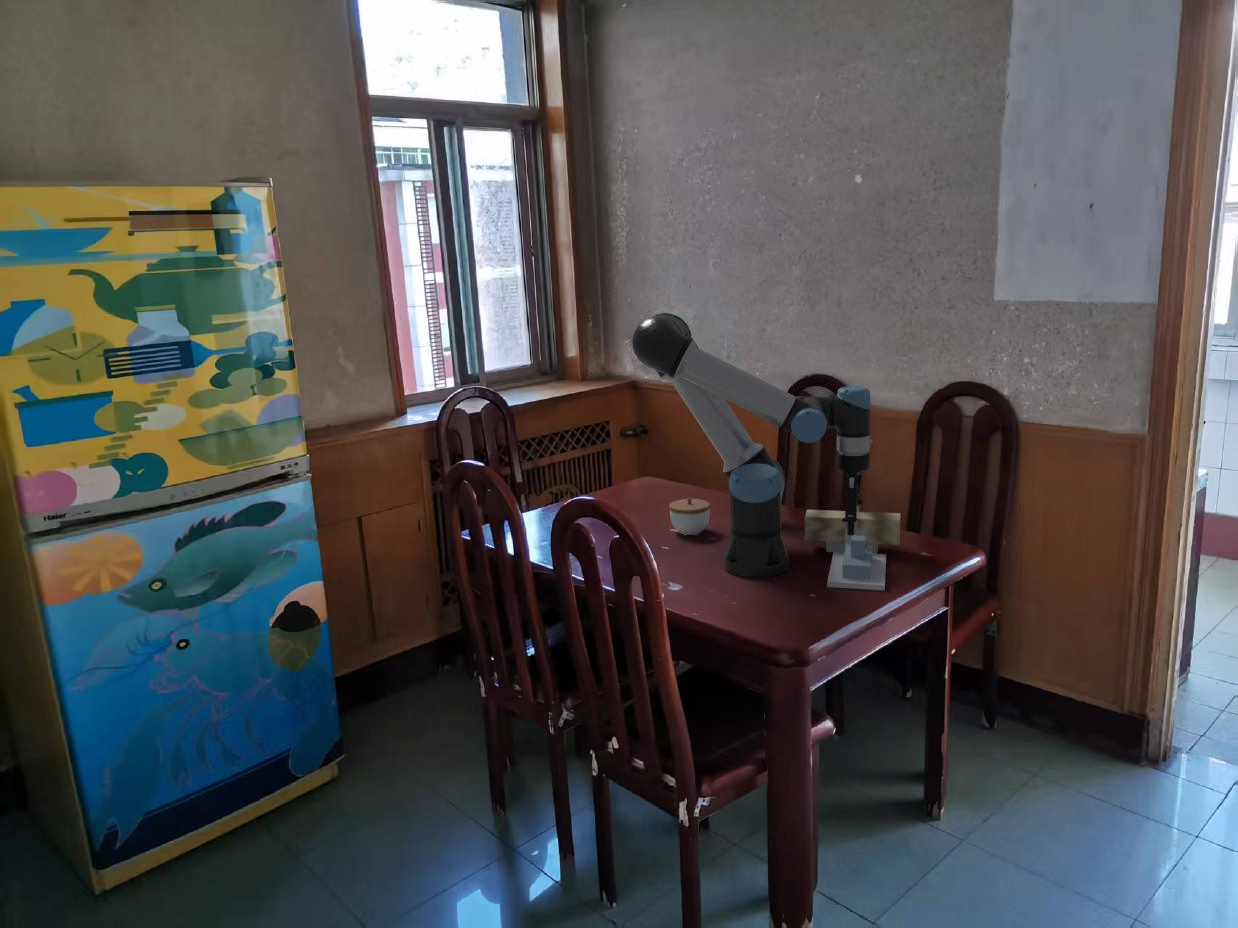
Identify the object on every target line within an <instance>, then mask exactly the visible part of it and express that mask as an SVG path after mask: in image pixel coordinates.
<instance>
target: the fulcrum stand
mask: <svg viewBox="0 0 1238 928" xmlns="http://www.w3.org/2000/svg"><path fill="white" fill-rule="evenodd" d="M832 553H833V554H832V558H831V562H830V566H829V567H830V568H829V572H828V577H827V581H826V582H827V584H826V588H837V589H838V588H839V589H840V588H841V589H852V590H853V589H856V590H870V591H871V590H872V591H884V592H885V587H886V566H887V565H886V564H887V554H885V553H877V554H873V546H869V545H865V536H856V535H852V537H851V545H849V544H846V548H845V552H832Z"/></svg>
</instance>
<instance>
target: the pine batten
mask: <svg viewBox="0 0 1238 928" xmlns="http://www.w3.org/2000/svg"><path fill="white" fill-rule="evenodd" d="M848 516H850V515H848ZM842 518H845V510H829V509H828V510H824V509H806V512H805V515H804V541H812V542H826V541H829V542H845V522H842ZM856 518H857V536H865V543H869V544H878V545H892V546H893V545H895V546H897V545H898V546H900V545H901V544H900V543H901V542H900V541H901V513H900V512H882V511H881V512H875V511H859V512H857V517H856Z"/></svg>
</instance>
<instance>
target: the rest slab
mask: <svg viewBox="0 0 1238 928" xmlns="http://www.w3.org/2000/svg"><path fill="white" fill-rule="evenodd" d="M865 545H869V546H873V554H879V553H878V550H879V544H869V543H865ZM825 552H827V553H833V552H845V542H829V541H825Z"/></svg>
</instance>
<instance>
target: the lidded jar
mask: <svg viewBox="0 0 1238 928" xmlns="http://www.w3.org/2000/svg"><path fill="white" fill-rule="evenodd" d="M668 507H669V514H670V515H669V516H670V521H671V524H672V526H673V528H674V529H675V530H676V531H677V532H678V533H679V532H680V533H681V534H684V535H683V536H686V535H694V536H698V535H700V534H699V533H701V532H702V533H703V531H704V530H705V529H706V528H707V527H708V526H707V525H708V524H709V520H710V515H711V514H710V513H711V512H710V511H711V510H710V508H711V503H710V502H709V501H707V500H705V499H699V498H691V497H687V498H684V499H677V500H674V501H671V502H670V503H669V505H668ZM680 533H679V534H680ZM702 533H701V534H702ZM681 534H680V535H681ZM697 534H698V535H697Z"/></svg>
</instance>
